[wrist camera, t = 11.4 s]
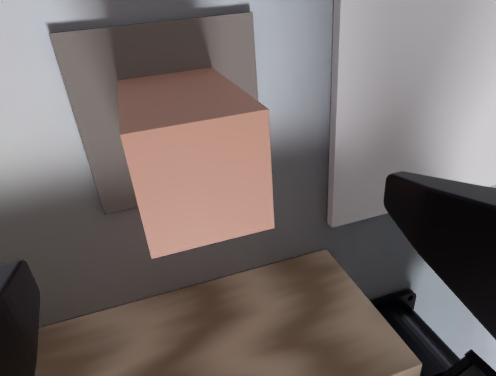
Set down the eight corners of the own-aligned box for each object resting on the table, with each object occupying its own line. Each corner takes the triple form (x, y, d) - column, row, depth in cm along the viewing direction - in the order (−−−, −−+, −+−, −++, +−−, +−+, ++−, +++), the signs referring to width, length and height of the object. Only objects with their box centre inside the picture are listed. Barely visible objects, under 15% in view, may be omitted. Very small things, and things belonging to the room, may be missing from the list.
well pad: (250, 11, 16) (252, 12, 16) (261, 177, 20) (263, 179, 20) (50, 33, 14) (48, 33, 14) (104, 211, 18) (104, 214, 18)
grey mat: (626, -231, 16) (642, -238, 16) (509, 175, 26) (516, 179, 26) (341, -251, 13) (350, -260, 13) (327, 222, 23) (332, 227, 22)
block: (212, 67, 16) (268, 109, 10) (222, 151, 18) (274, 227, 12) (117, 80, 15) (119, 134, 9) (138, 168, 17) (151, 258, 11)
